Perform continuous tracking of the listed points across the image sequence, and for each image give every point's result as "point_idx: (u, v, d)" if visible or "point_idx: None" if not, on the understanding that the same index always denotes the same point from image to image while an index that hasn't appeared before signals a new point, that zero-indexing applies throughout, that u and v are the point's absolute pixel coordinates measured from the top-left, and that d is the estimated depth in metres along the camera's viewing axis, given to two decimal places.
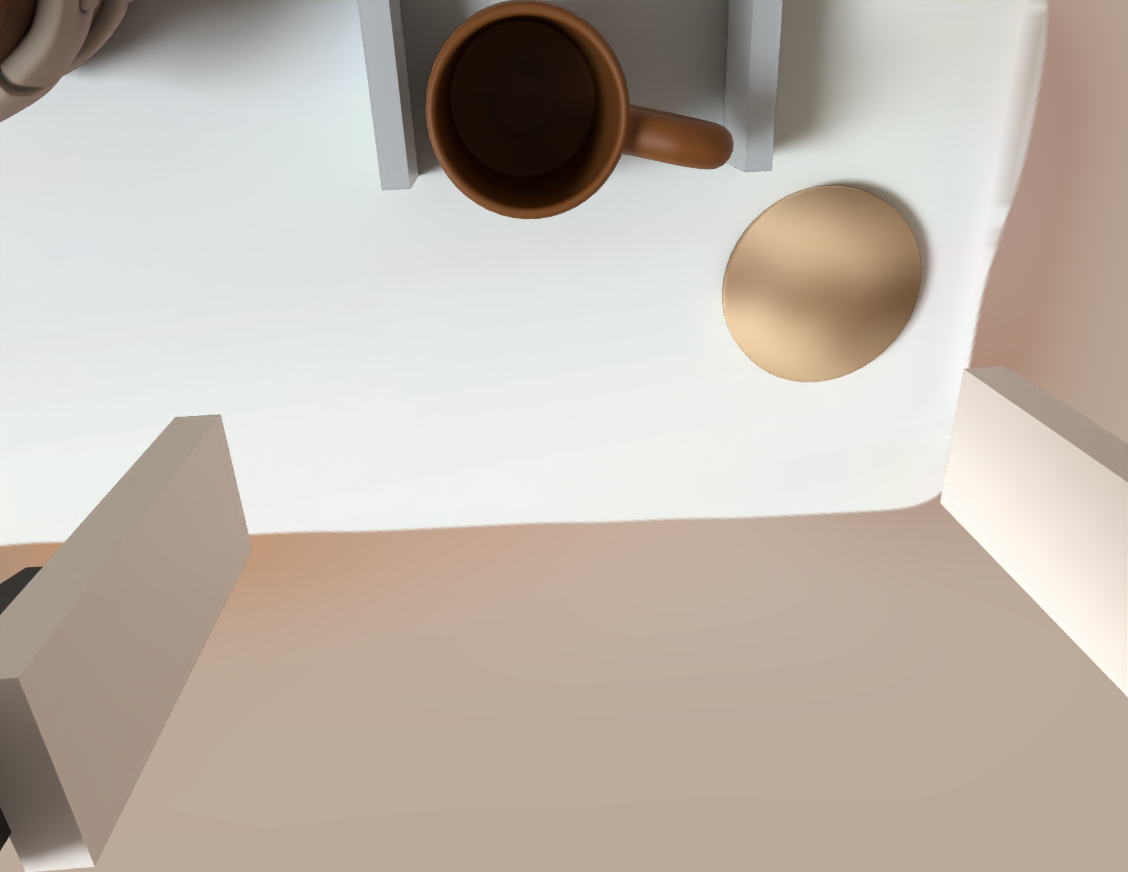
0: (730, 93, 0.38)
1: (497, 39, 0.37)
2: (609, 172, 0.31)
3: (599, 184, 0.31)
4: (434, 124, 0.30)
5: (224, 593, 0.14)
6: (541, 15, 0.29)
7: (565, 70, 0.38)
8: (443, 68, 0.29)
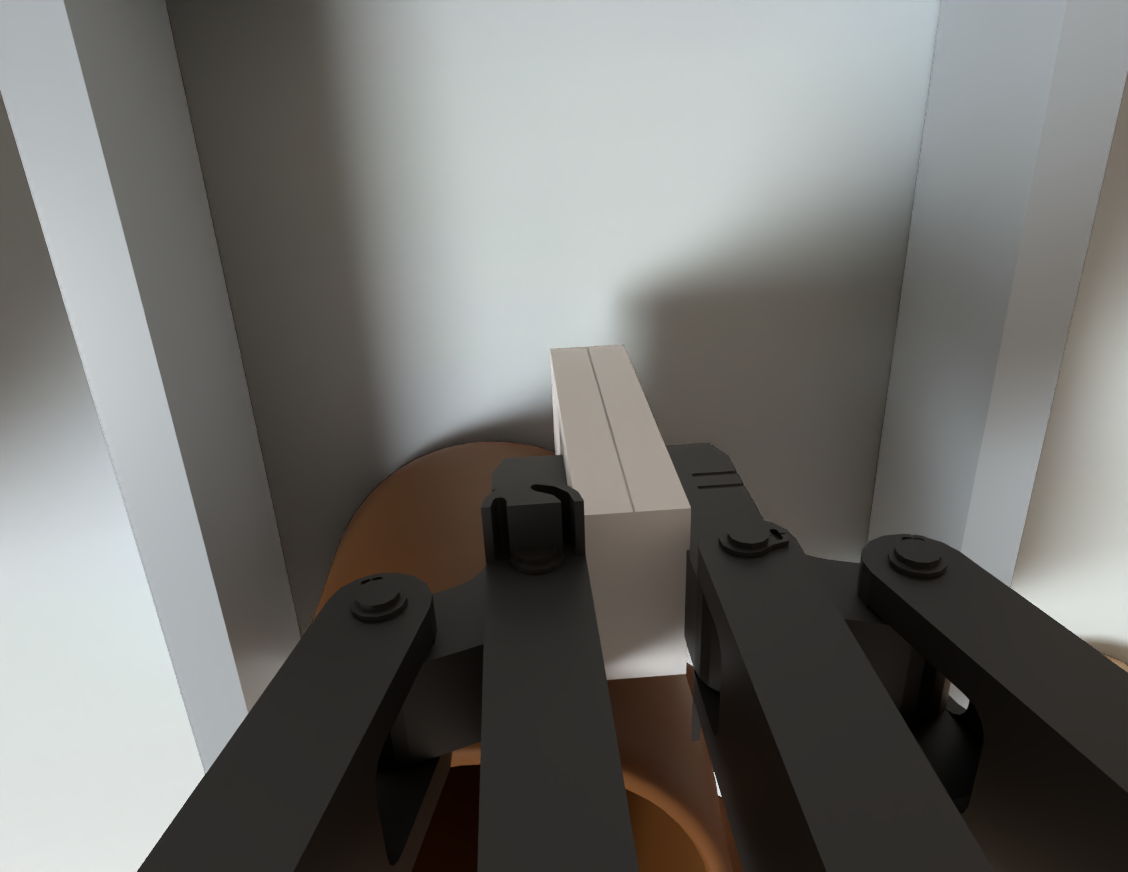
0: None
1: None
2: None
3: None
4: None
5: None
6: None
7: None
8: None
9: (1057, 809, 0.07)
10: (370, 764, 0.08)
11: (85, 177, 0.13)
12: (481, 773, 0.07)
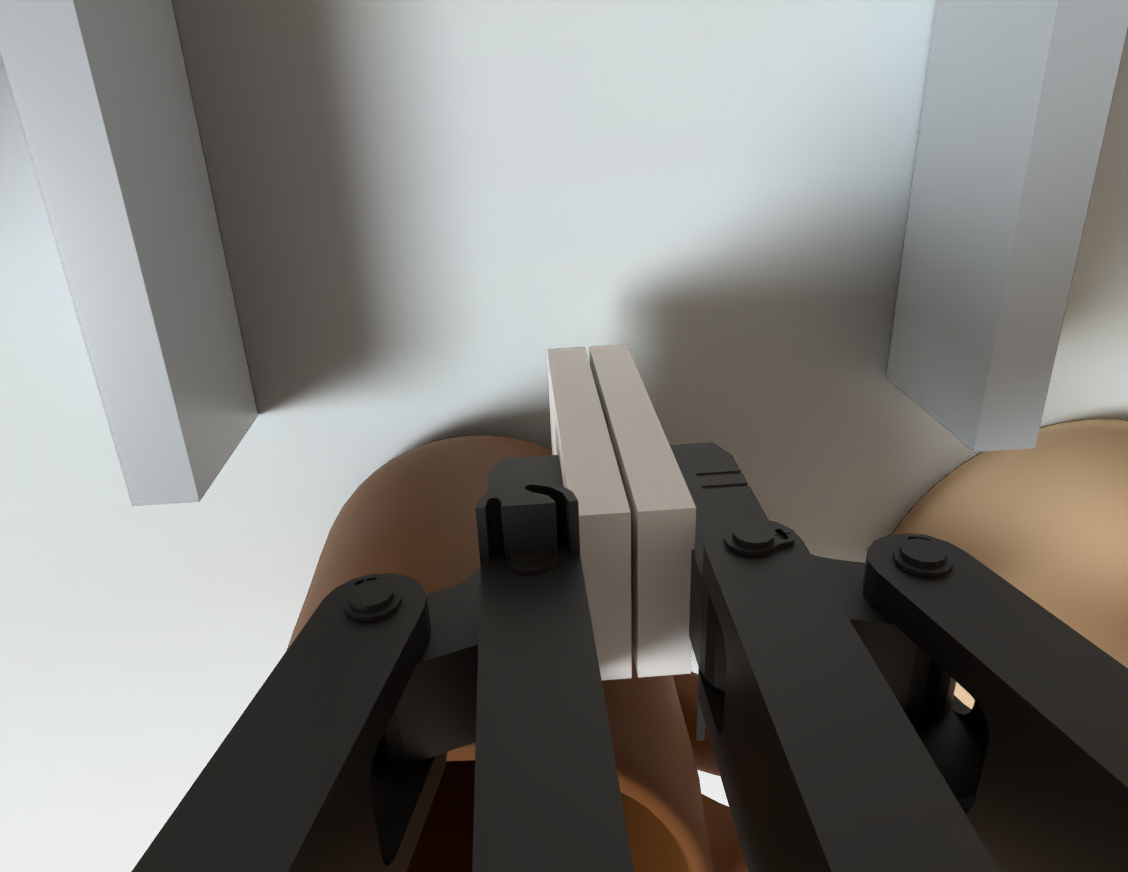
0: (925, 259, 0.17)
1: None
2: None
3: None
4: None
5: None
6: None
7: None
8: None
9: (1062, 809, 0.07)
10: (364, 764, 0.08)
11: None
12: (476, 774, 0.07)
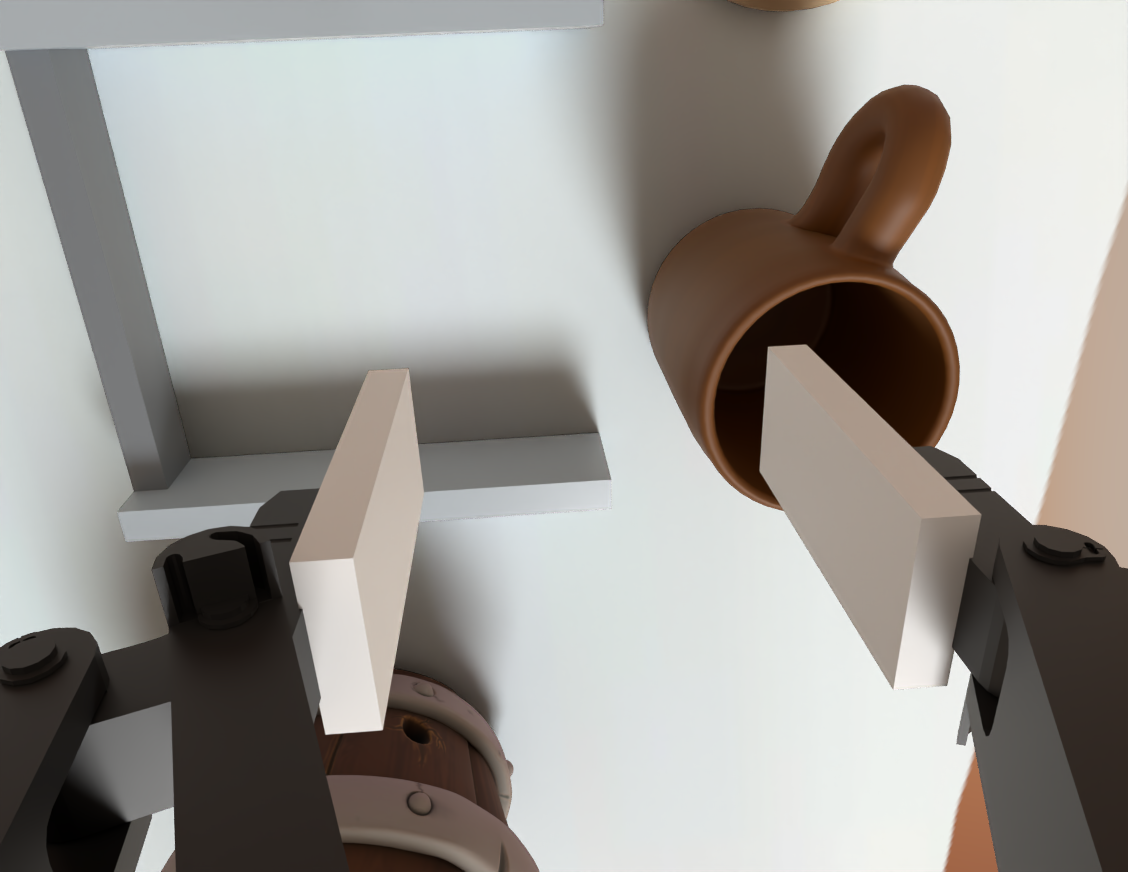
0: (496, 31, 0.26)
1: None
2: (927, 301, 0.22)
3: (939, 316, 0.22)
4: None
5: (415, 526, 0.15)
6: (719, 375, 0.23)
7: None
8: (756, 490, 0.24)
9: None
10: (35, 831, 0.07)
11: (252, 512, 0.29)
12: (177, 863, 0.06)
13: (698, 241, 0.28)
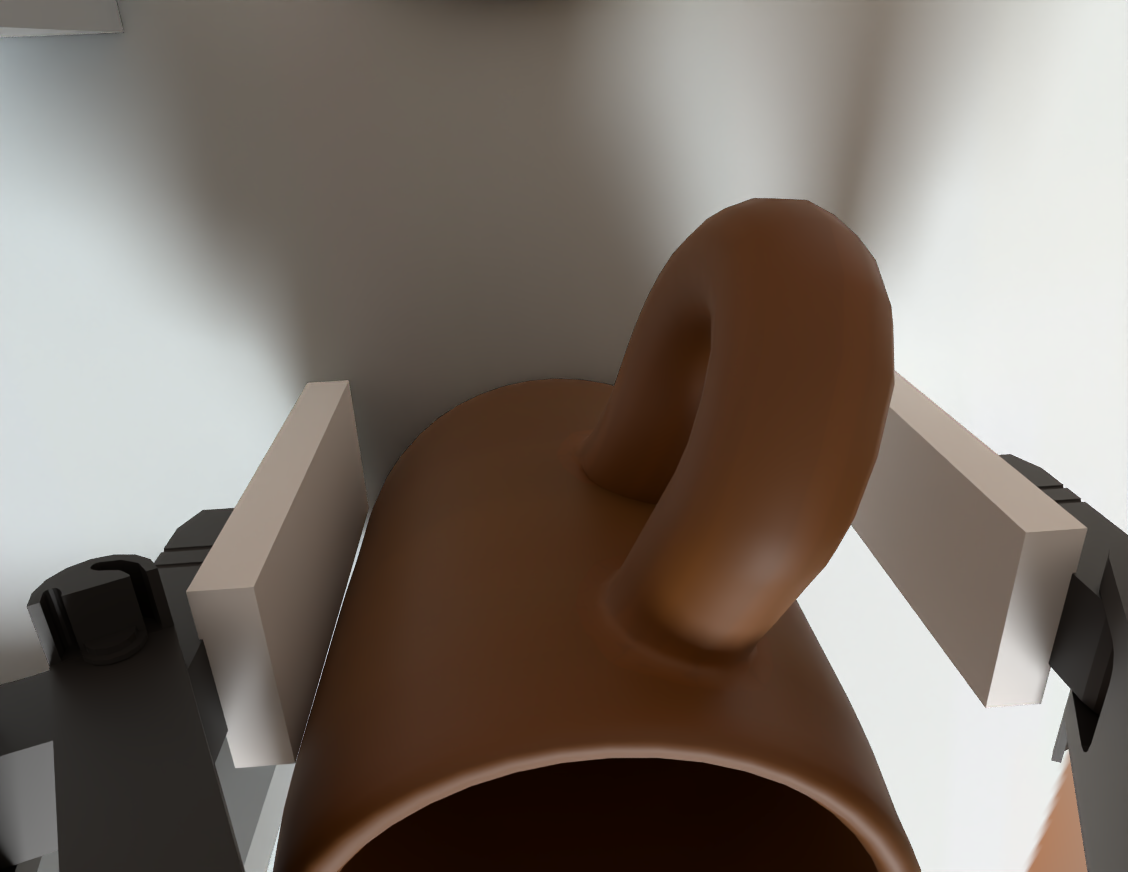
0: None
1: None
2: (834, 791, 0.08)
3: (869, 823, 0.08)
4: None
5: (355, 543, 0.15)
6: None
7: None
8: None
9: None
10: None
11: None
12: None
13: (421, 460, 0.14)
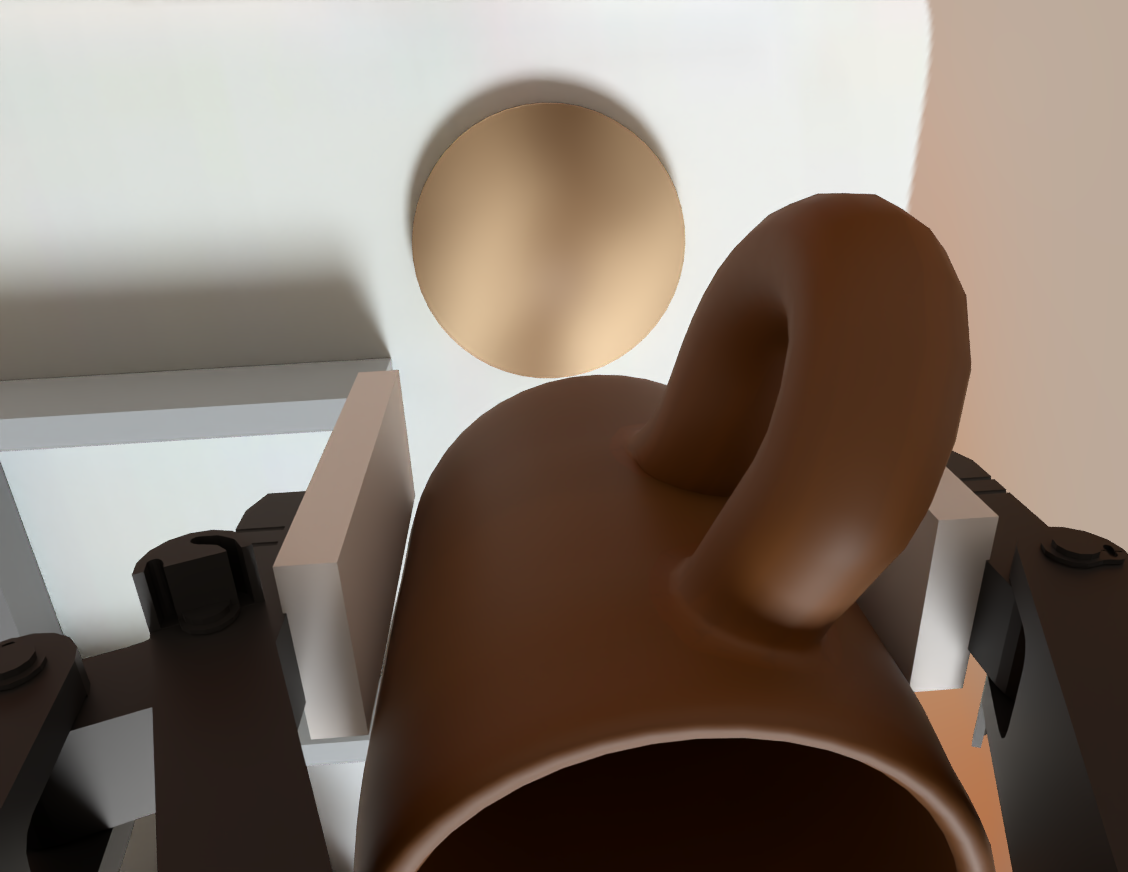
0: None
1: None
2: (911, 768, 0.08)
3: (944, 799, 0.08)
4: None
5: (405, 528, 0.15)
6: None
7: None
8: None
9: None
10: (16, 838, 0.07)
11: None
12: (159, 870, 0.06)
13: (469, 457, 0.14)
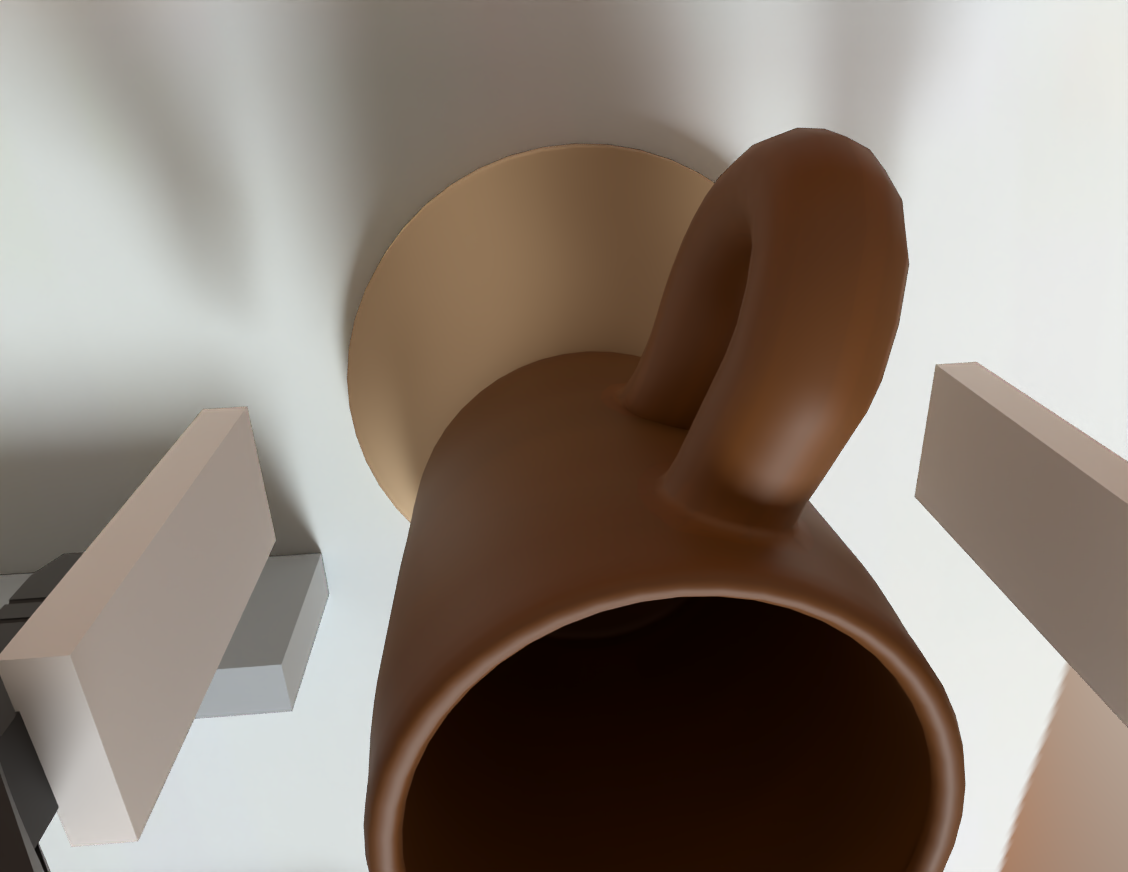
0: None
1: None
2: (877, 629, 0.09)
3: (908, 660, 0.09)
4: None
5: (252, 581, 0.14)
6: (402, 807, 0.10)
7: None
8: None
9: None
10: None
11: None
12: None
13: (470, 421, 0.15)
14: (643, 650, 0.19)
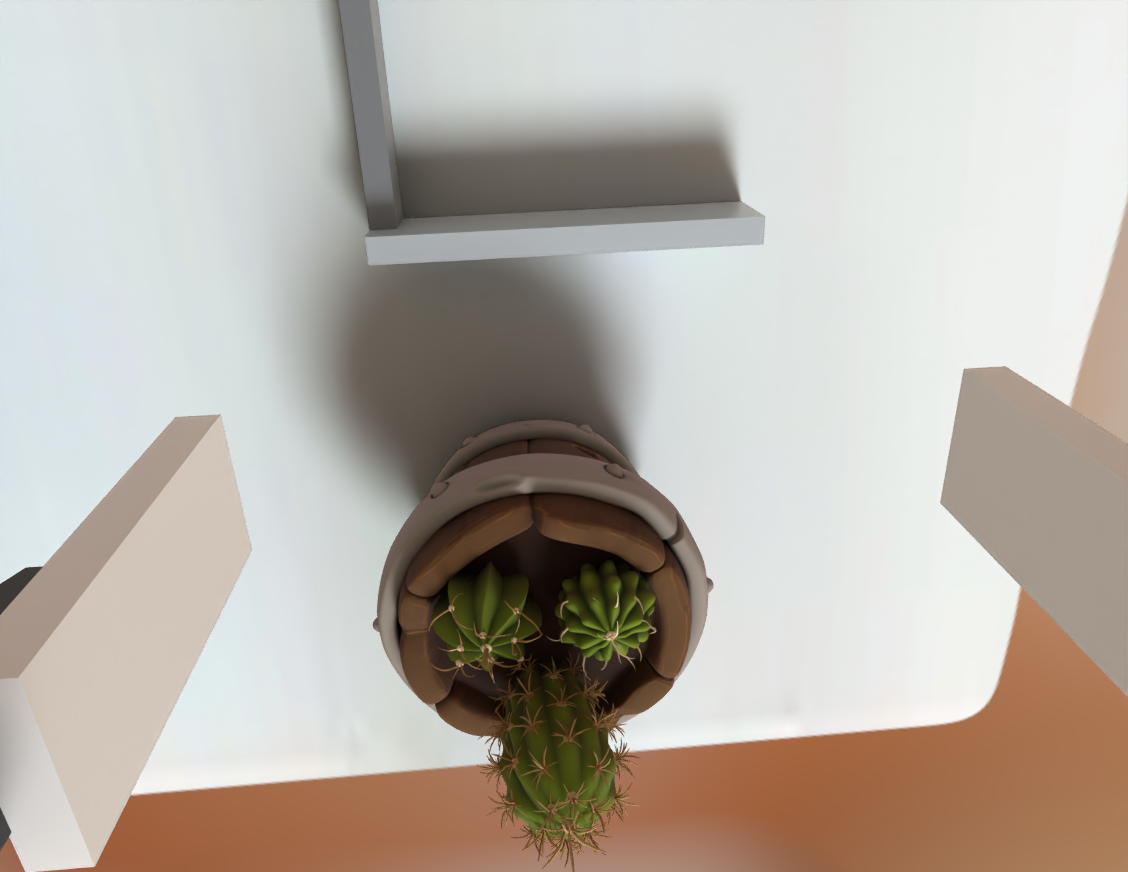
0: None
1: None
2: None
3: None
4: None
5: (224, 593, 0.14)
6: None
7: None
8: None
9: None
10: None
11: (473, 239, 0.36)
12: None
13: None
14: None
